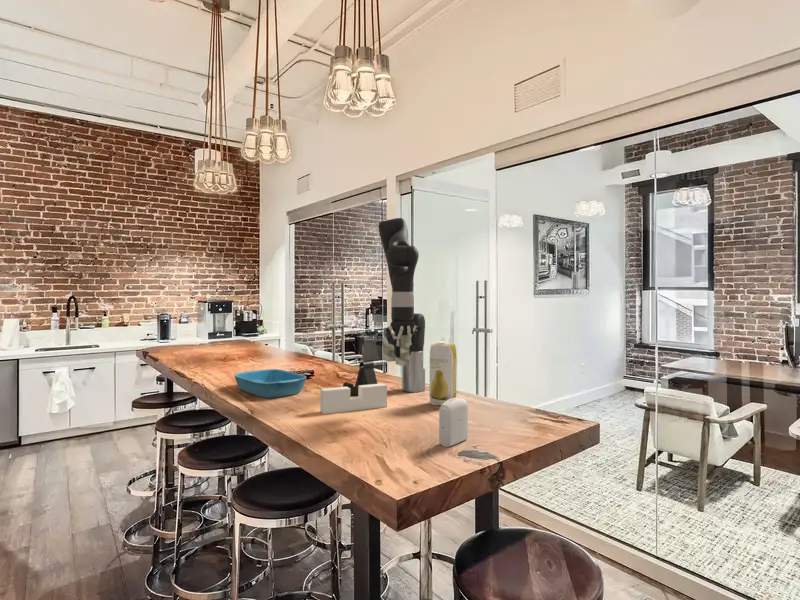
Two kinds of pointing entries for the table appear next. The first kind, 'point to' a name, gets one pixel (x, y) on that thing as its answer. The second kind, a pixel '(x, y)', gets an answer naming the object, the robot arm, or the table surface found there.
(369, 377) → the phone stand
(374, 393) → the slotted beam
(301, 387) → the casserole dish
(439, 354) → the juice carton
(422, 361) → the robot arm
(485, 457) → the table surface
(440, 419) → the photo printer
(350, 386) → the hand tool
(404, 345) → the slotted plate
